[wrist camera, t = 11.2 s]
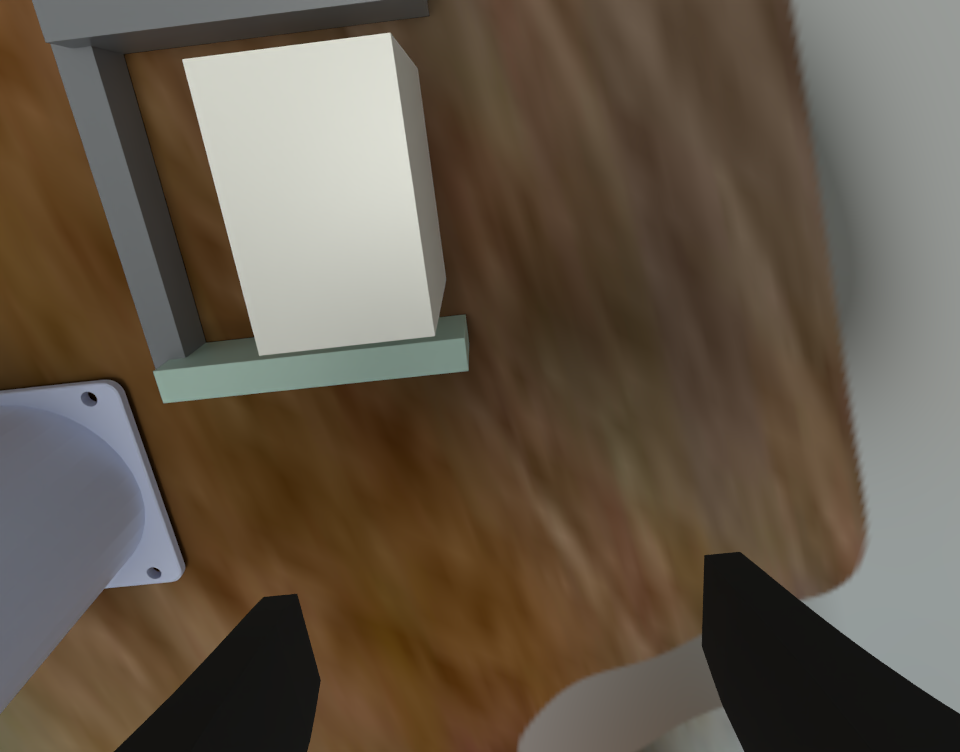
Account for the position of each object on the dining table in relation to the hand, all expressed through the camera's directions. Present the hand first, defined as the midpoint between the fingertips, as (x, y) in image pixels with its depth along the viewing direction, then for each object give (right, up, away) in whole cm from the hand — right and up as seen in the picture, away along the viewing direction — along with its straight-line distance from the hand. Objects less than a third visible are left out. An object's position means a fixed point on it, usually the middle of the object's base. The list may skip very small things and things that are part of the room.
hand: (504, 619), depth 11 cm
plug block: (-4, +10, +7) cm, 13 cm away
